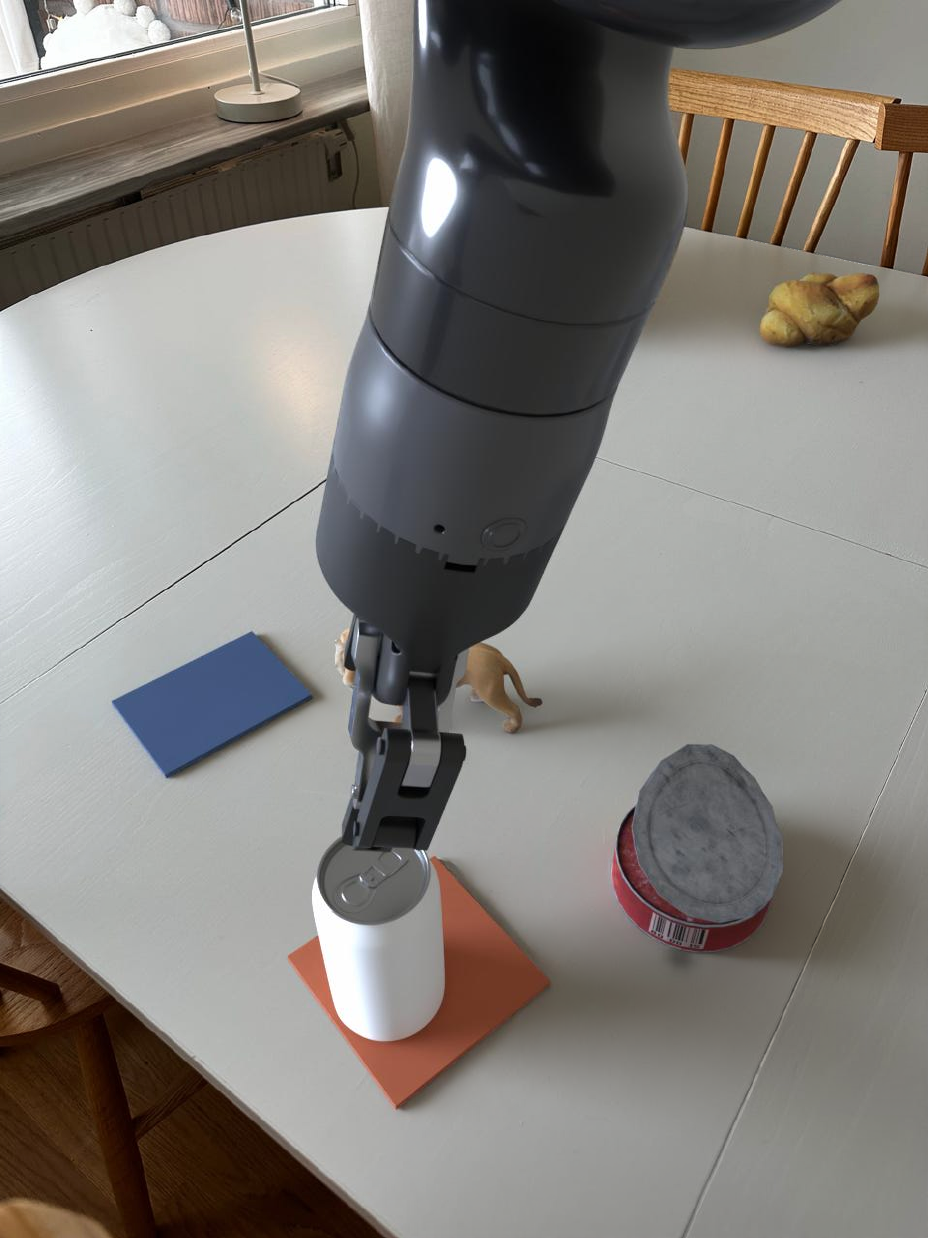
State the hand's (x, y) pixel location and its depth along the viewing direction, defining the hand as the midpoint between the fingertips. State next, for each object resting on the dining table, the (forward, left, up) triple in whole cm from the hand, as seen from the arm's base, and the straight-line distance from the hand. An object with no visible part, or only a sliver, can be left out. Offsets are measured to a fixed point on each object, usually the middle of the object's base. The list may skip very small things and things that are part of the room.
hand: (367, 747), depth 41 cm
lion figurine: (+15, +15, -22) cm, 31 cm away
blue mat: (+3, +27, -22) cm, 35 cm away
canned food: (+19, -6, -22) cm, 30 cm away
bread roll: (+85, +35, -22) cm, 94 cm away
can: (0, 0, -22) cm, 22 cm away
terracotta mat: (+2, 0, -22) cm, 22 cm away
